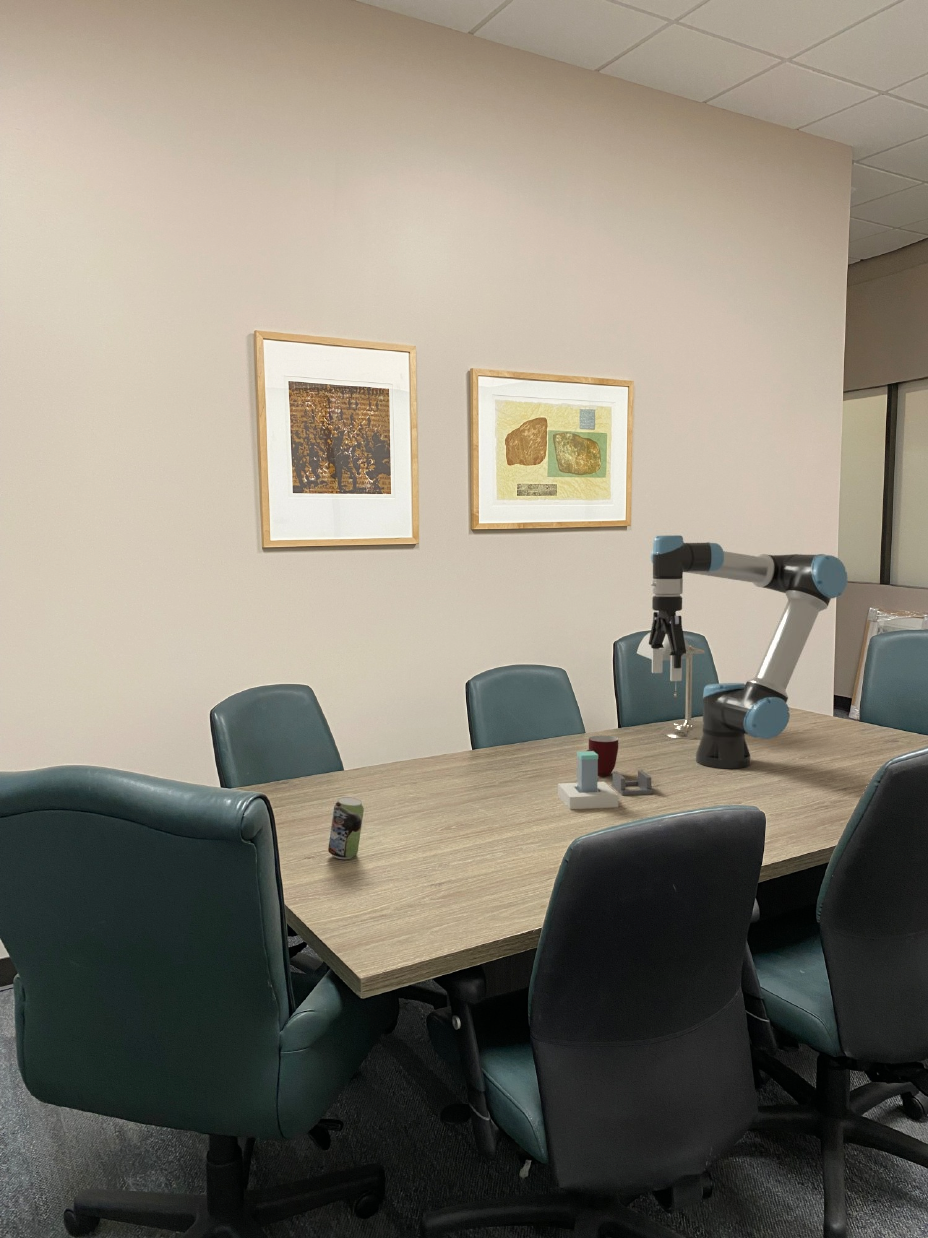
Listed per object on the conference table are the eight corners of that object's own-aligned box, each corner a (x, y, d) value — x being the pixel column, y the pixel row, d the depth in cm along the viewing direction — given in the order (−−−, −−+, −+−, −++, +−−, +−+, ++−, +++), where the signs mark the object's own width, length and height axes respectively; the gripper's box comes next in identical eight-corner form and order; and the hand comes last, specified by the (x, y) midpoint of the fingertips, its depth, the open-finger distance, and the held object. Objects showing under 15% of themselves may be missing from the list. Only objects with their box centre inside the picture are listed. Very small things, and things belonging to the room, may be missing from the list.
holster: (640, 784, 231) (640, 769, 231) (652, 794, 222) (652, 778, 222) (611, 785, 230) (611, 770, 230) (622, 795, 221) (622, 779, 221)
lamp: (631, 726, 303) (632, 629, 300) (699, 724, 306) (700, 628, 303) (656, 743, 277) (657, 637, 274) (730, 741, 280) (732, 636, 277)
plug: (593, 798, 219) (593, 751, 218) (597, 803, 215) (598, 755, 213) (576, 799, 218) (576, 751, 217) (581, 804, 214) (581, 755, 213)
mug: (597, 781, 234) (597, 744, 233) (575, 775, 240) (576, 739, 240) (624, 775, 240) (624, 739, 239) (602, 769, 247) (603, 734, 246)
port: (603, 793, 223) (603, 781, 223) (618, 807, 211) (618, 795, 211) (557, 795, 221) (557, 783, 221) (569, 809, 210) (569, 797, 209)
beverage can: (329, 852, 182) (328, 795, 181) (364, 850, 182) (364, 794, 181) (327, 863, 176) (326, 804, 174) (364, 861, 176) (363, 803, 175)
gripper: (637, 592, 238) (636, 670, 240) (671, 598, 213) (669, 684, 215) (664, 592, 239) (663, 669, 241) (700, 598, 214) (699, 683, 216)
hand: (666, 676), depth 228 cm, fingers open, 13 cm apart
